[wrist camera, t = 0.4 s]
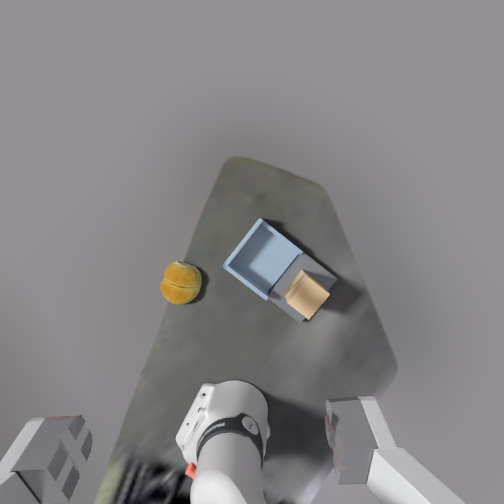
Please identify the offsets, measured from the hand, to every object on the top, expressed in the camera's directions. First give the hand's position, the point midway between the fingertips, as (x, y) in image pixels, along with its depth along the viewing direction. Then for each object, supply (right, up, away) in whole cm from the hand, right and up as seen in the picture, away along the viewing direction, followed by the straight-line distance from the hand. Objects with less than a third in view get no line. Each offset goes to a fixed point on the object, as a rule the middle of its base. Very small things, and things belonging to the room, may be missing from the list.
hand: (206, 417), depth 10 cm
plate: (+12, -2, +53) cm, 55 cm away
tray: (+4, +5, +53) cm, 53 cm away
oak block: (+12, -2, +51) cm, 53 cm away
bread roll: (-13, -1, +54) cm, 56 cm away
